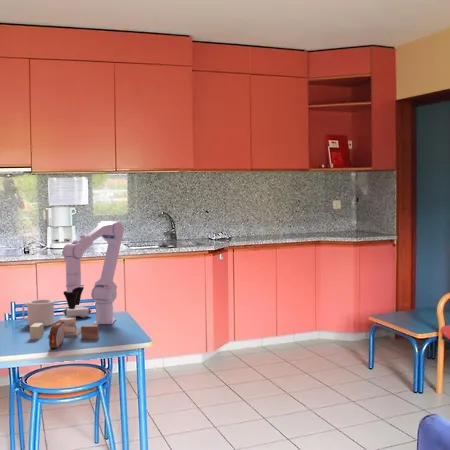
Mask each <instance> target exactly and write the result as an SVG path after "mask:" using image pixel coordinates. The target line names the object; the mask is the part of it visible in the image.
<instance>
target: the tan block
mask: <svg viewBox="0 0 450 450" xmlns="http://www.w3.org/2000/svg"><path fill="white" fill-rule="evenodd" d="M58 321H62V322H64V332H75V331H76V327H77V318H76V317H75V318H69V317H60V318H59V319H58Z"/></svg>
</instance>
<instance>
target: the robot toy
mask: <svg viewBox="0 0 450 450" xmlns="http://www.w3.org/2000/svg"><path fill="white" fill-rule="evenodd" d="M62 313H63V314H64V315H65V316H66V317H67V318H76V317H80V318H81V319H83V318H86V317H88V315H90V314H91V313H92V309H91V308H90V307H89V306H84V307H83V305H75V309H69V307H66V308H64V310H63V311H62Z"/></svg>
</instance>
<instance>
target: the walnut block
mask: <svg viewBox="0 0 450 450" xmlns="http://www.w3.org/2000/svg"><path fill="white" fill-rule="evenodd" d="M80 327H81V333H80V337H81V338H80V340H98V338H99V336H100V335H99V324H94V323H93V324H92V323H91V324H82V325H81V326H80Z"/></svg>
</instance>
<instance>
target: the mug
mask: <svg viewBox="0 0 450 450" xmlns="http://www.w3.org/2000/svg"><path fill="white" fill-rule="evenodd" d="M25 307H27V317H25ZM21 309H22V310H21V311H22V319H23V320H24V321H25V320H26V321H27V326H29V327H30V326H31V325H33V324H34V323H43V326H44V327H49V326H52V325H53V324H54V323H55V302H54V300H52V299H46V298H44V299H43V298H42V299H33V300H29V301H28V302H27V303H26V304H22V308H21Z"/></svg>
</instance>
